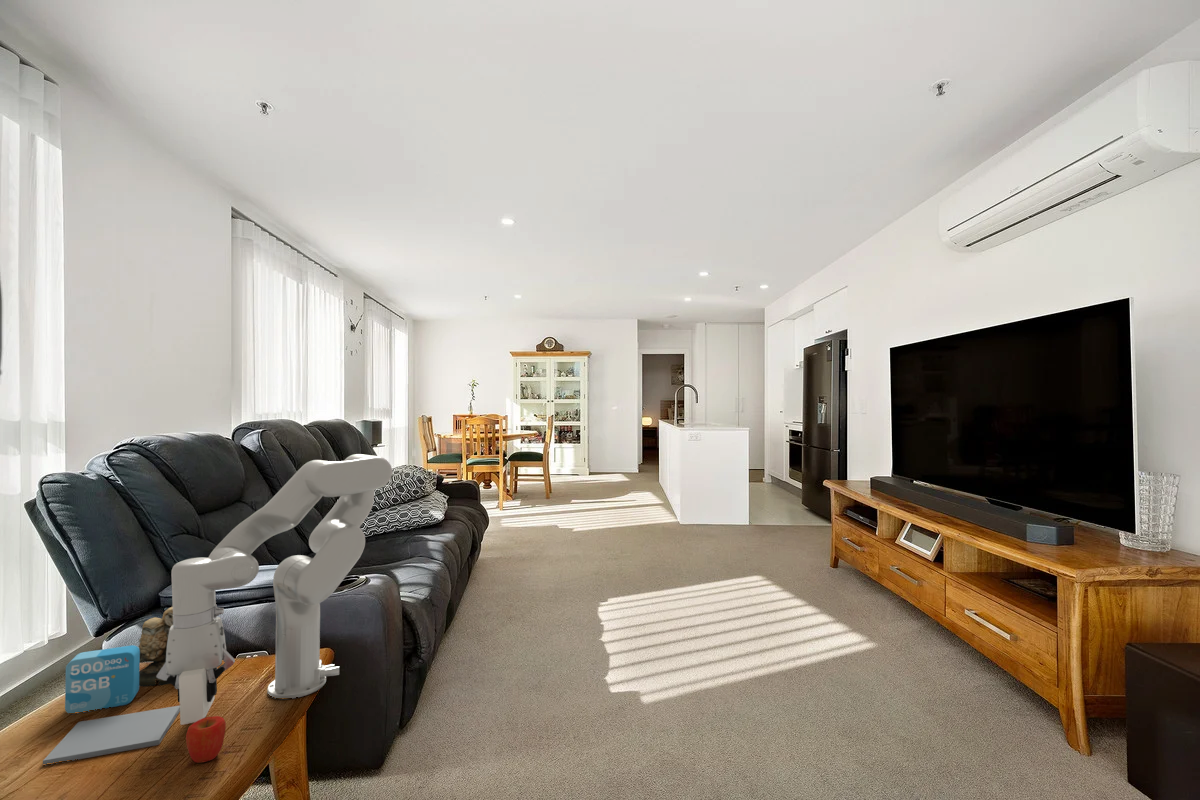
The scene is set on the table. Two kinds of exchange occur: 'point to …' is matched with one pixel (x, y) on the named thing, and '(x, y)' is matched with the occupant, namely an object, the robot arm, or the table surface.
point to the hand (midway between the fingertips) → (197, 700)
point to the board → (114, 734)
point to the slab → (193, 696)
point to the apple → (205, 738)
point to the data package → (102, 679)
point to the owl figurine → (154, 647)
